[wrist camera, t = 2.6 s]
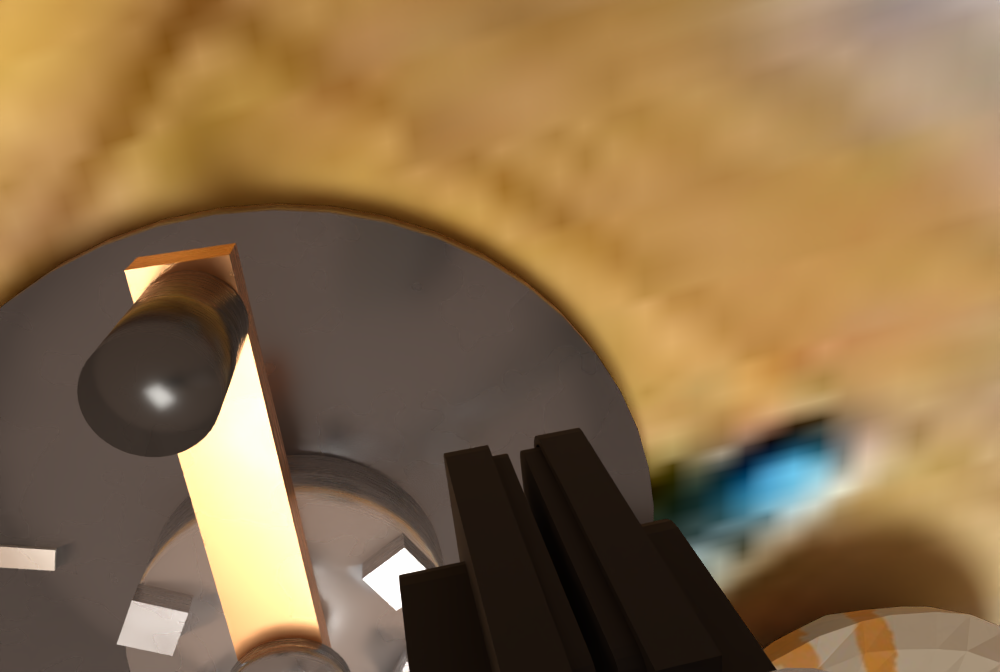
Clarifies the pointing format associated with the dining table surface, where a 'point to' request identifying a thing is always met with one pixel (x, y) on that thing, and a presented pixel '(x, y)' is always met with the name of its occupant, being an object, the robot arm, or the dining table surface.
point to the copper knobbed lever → (244, 494)
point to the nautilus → (891, 642)
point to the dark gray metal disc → (278, 398)
